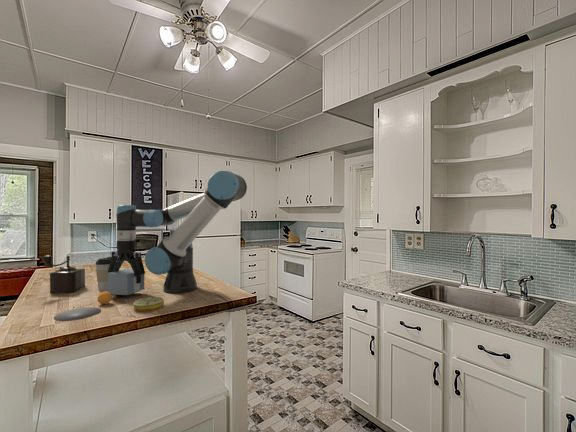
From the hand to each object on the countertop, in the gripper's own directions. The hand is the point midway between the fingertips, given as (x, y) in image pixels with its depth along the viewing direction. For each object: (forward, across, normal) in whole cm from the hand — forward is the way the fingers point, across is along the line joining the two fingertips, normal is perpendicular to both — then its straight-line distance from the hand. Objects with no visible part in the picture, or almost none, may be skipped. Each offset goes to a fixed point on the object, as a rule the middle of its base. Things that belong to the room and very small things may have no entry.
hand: (126, 289), depth 134 cm
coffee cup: (+3, -19, +8) cm, 20 cm away
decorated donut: (+3, +22, -13) cm, 26 cm away
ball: (0, +1, -12) cm, 13 cm away
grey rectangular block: (+1, 0, 0) cm, 1 cm away
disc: (+3, +1, -24) cm, 25 cm away
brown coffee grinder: (+3, -34, -1) cm, 34 cm away
